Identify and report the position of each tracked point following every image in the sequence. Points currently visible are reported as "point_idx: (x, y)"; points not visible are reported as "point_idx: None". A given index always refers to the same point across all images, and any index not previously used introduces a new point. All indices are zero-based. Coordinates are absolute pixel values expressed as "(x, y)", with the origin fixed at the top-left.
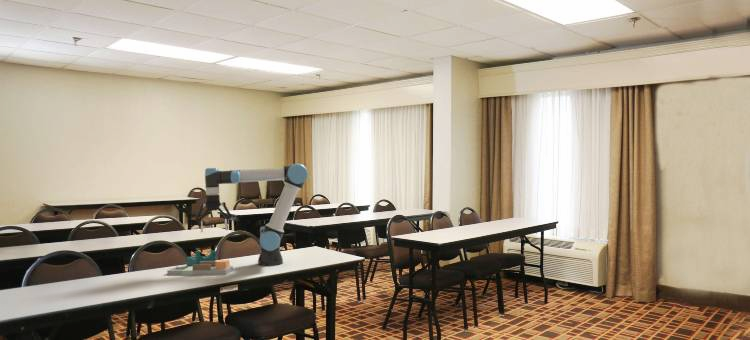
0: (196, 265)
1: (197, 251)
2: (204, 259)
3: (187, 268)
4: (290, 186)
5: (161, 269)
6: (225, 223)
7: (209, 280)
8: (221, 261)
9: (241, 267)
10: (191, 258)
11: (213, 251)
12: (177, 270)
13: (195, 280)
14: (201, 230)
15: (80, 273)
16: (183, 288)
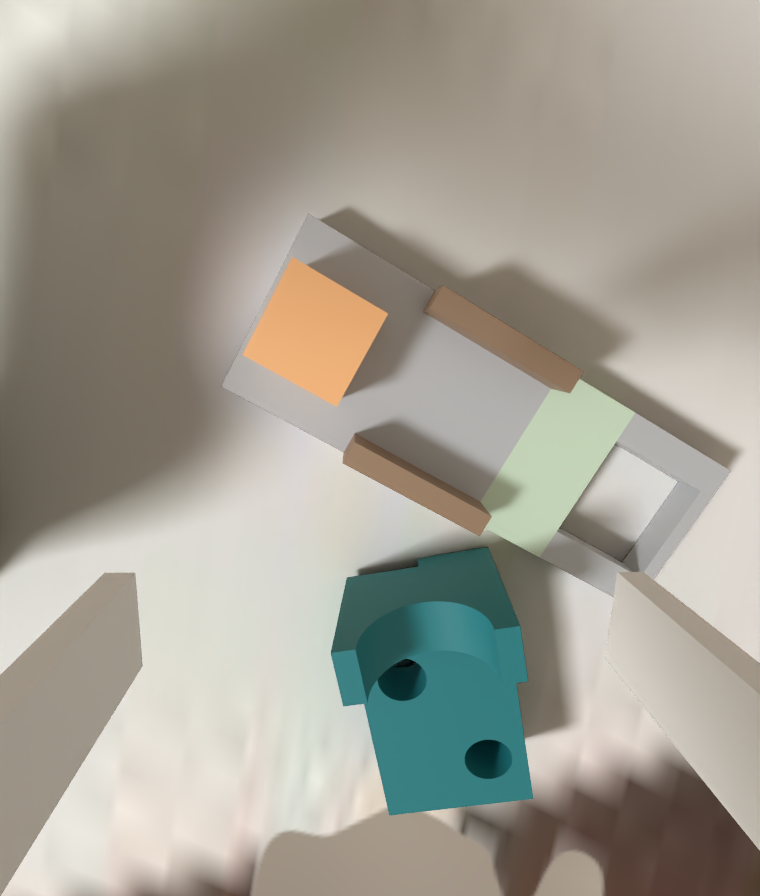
0: (551, 353)
1: (518, 638)
2: (435, 593)
3: (580, 477)
4: None
5: None
6: (47, 706)
7: (478, 43)
8: (327, 316)
9: (147, 470)
10: (516, 715)
11: (352, 647)
12: (665, 433)
13: (576, 116)
14: (668, 593)
15: None
16: None
